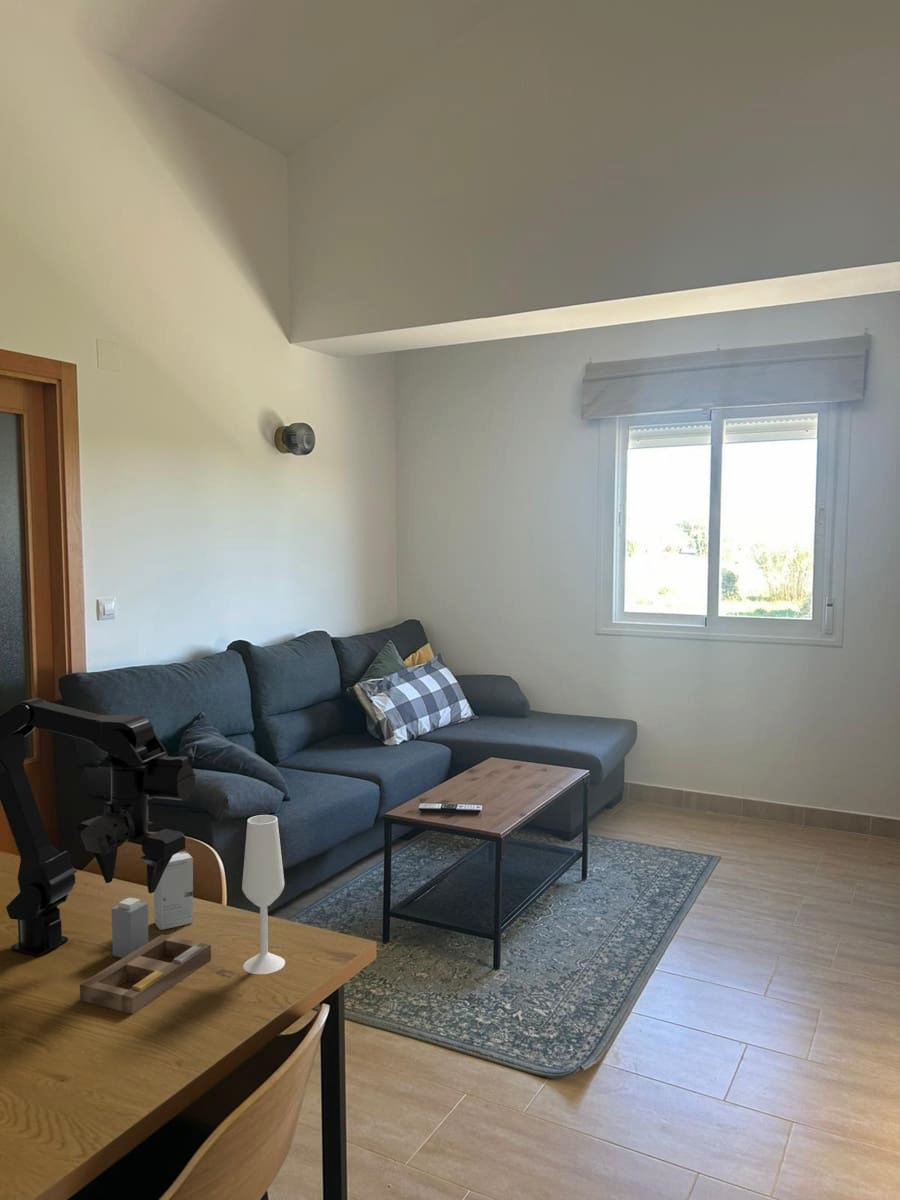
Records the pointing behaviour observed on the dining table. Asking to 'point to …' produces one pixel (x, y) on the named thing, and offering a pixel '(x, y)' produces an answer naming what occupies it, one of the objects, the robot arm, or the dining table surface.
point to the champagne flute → (263, 883)
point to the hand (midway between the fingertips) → (129, 887)
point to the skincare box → (175, 893)
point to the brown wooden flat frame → (145, 973)
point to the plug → (129, 926)
